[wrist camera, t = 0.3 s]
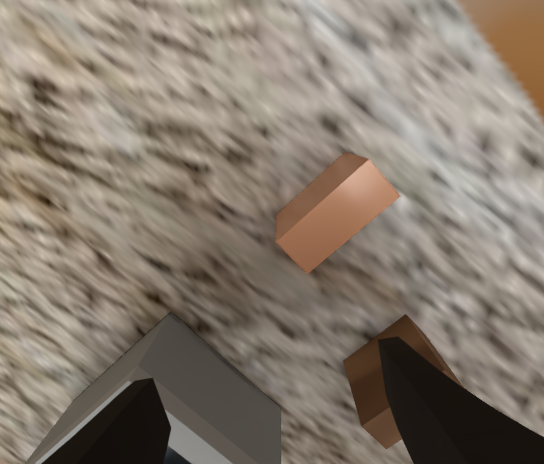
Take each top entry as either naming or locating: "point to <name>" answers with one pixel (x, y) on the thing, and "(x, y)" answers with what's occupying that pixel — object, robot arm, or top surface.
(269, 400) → the coin box
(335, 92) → the top surface
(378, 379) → the block
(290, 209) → the block
